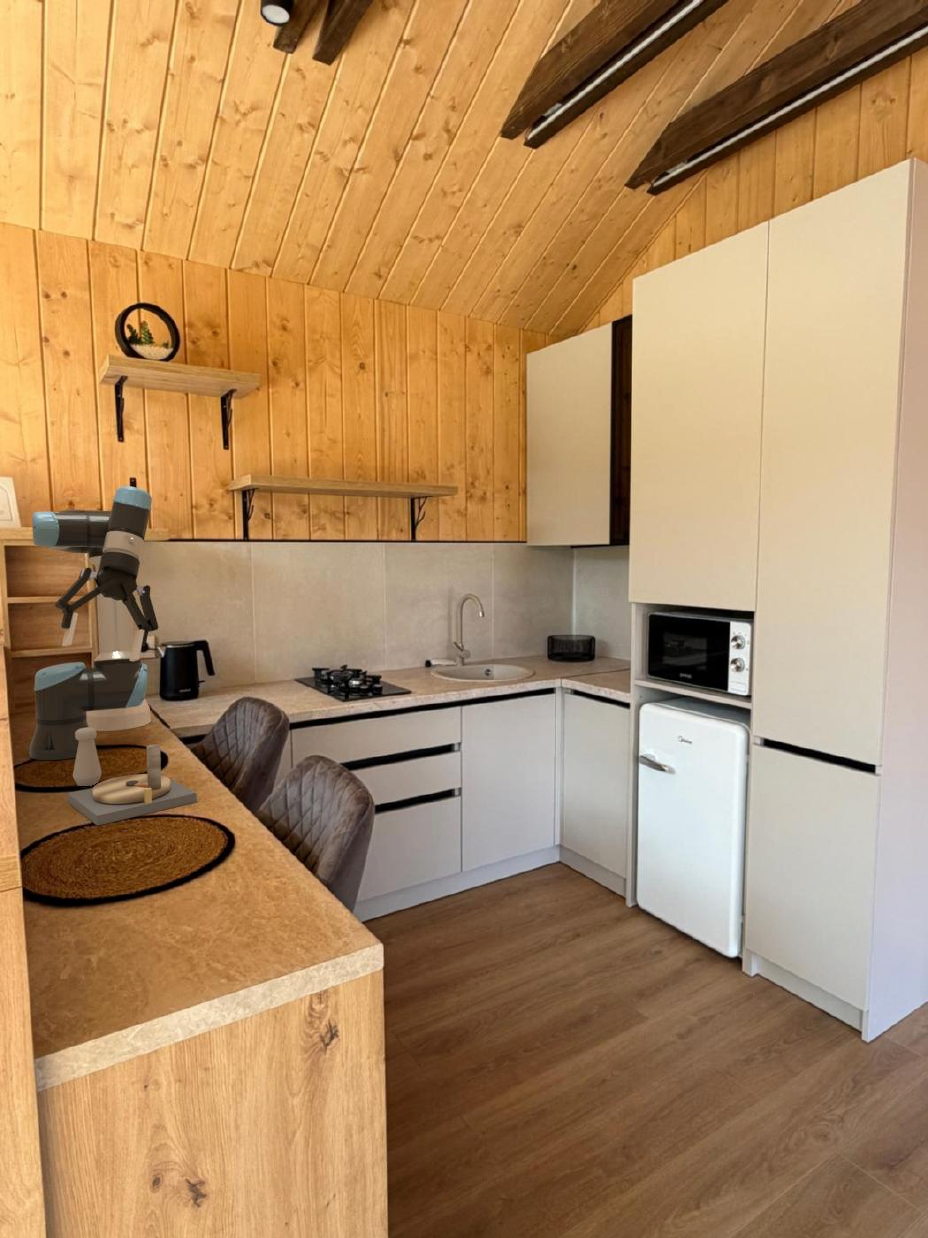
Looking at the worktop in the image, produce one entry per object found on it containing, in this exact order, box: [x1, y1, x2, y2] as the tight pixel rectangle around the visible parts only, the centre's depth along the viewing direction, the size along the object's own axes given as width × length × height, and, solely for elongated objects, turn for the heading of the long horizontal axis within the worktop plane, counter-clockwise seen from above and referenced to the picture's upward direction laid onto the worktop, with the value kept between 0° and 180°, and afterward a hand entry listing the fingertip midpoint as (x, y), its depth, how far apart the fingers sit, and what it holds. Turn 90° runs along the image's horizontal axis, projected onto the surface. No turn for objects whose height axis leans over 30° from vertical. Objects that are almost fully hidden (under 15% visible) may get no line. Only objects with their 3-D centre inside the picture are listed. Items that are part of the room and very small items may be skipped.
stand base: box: [67, 773, 198, 827], centre depth 154 cm, size 18×20×5 cm
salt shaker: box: [72, 727, 103, 787], centre depth 165 cm, size 6×6×13 cm
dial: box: [92, 744, 171, 804], centre depth 153 cm, size 15×15×10 cm
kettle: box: [86, 698, 152, 732], centre depth 223 cm, size 20×21×18 cm
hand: (101, 653), depth 148 cm, fingers open, 13 cm apart
